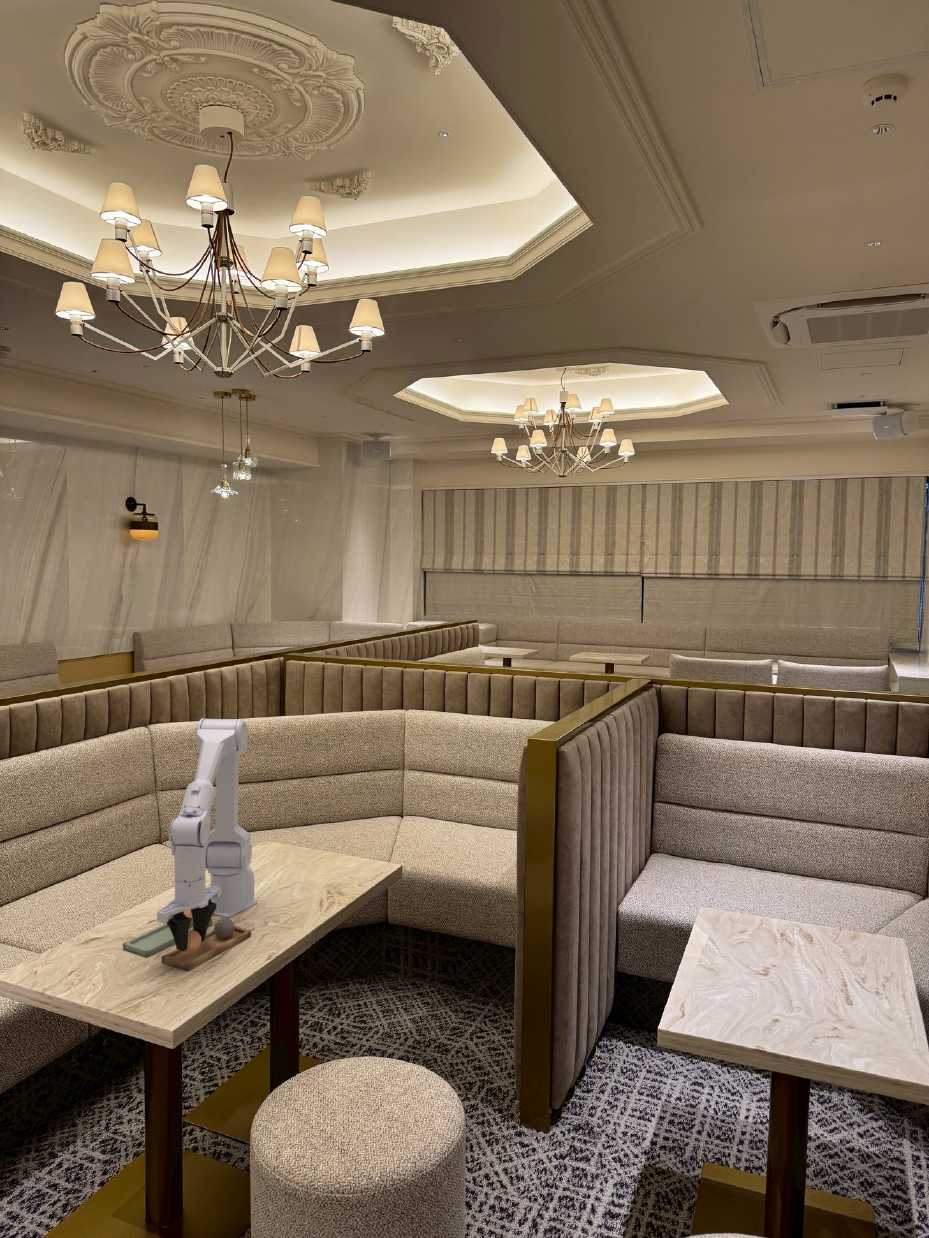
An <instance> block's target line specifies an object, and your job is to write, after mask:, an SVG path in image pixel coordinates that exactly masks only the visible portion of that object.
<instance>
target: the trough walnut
mask: <svg viewBox="0 0 929 1238" xmlns="http://www.w3.org/2000/svg"><path fill="white" fill-rule="evenodd" d="M251 936H252V930H250V929H247V928H243V927H239V926H236V925H234V932H233V934H232V935H231V936H230V937H228V938H225V939H221V938H219V937H217V936H216V934H215V932H214V929H212V930H210V931H208V932H206V936H205V940H204V941H203V942H201V945H200V947H199V948H198V949H197V950H196V951H194V952H185V951H181V950H178V949H177V948H176V949H173V950H171V951H170V952H168V953H166V954H163V955H162V956H161V963H163V964H165V965H168V966H171V967H174V968H177V969H180V970H182V971H186V972H189V971H190V970H192V969H194V968H197V967H198V966H199V965H202V964H203V963H205V962H207V961H209V960H210V959H213V958H215V957H216V956H218V955H220V954H222V953H223V952H225V951H227V950H229V949H231V948H232V947H234V946H236V945H238V944H240V943H241V942H243V941H245V940H247V939H249V938H250V937H251Z"/></svg>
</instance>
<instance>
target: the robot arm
mask: <svg viewBox="0 0 929 1238" xmlns="http://www.w3.org/2000/svg"><path fill="white" fill-rule="evenodd" d="M248 730H249V729H248V725H247V722H246V721H245V720H244V719H243V718H239V719H237V718H235V719H234V718H233V719H230V718H229V719H227V718H223V719H222V718H221V719H220V718H205V717H204V718H203V717H201V719H200V720H199V721H198V722H197V724H196V727H195V742H196V745H197V749H198V751H199V756H198V757H199V758H198V763H197V767H196V772H195V778H194V781H192V782H191V783H189V784H188V785H187V787H186V789H185V791H184V792H185V793H184V797H183V800H182V803H181V806H180V810H179V813H178V816H177V817H176V818H173V819H172V821H171V823H170V826H169V829H168V830H169V831H168V841H169V842H168V843H169V844H170V848H171V855H172V856H173V857H174V858H173V860H174V862H173V863H174V899H173V900H171V901H170V902H169V903H168V904H166V905H165V906H164V907H162V908H161V909H159V910H157V911H156V922H158V923H162V924H165V923H167V925H168V926H169V928H170V930H171V932H172V935H173V938H174V941H175V944H174V945H175V947H176V949H178V950H181V951H185V950H187V945H188V931H189V926H190V923H191V920H192V918H193V931H196V932H198V933H199V934H200V936H201V942H203V941H204V940H205V936H206V933H208V932H207V931H208V928H209V927H208V925H209V922H210V919H212V917H213V915H215V916H218V917H222V918H229V919H230V918H231V917H233V916H236V915H238V914H239V913H241V912H243V911H245V910H247V909H249V908H252V907H253V906H255V905H256V904H258V901H257V900H255V875H254V871H253V869H252V867H251V866H250V864H251V861H252V855H253V854H252V852H253V849H252V848H253V847H252V843H251V834H250V833H249V832H248V831H247V830H245V829H244V828H242V827H241V826H240V825H239V823H238V822H239V771H240V770H239V763H240V755H241V754H245V753H246V752H247V751H248V749H247V748H248ZM215 778H216V779H215ZM214 781H216V782H215V783H216V784H215V785H216V786H213V784H214ZM215 787H216V788H215ZM214 800H215V827H214V828H213V829H212V830H211V822H212V818H211V816H210V815H211V811H212V807H213V804H214ZM206 870H207V874H210V886H209V887H206ZM188 910H191V913H192V918H189V917H186V914H185V915H184V912H186V911H188Z"/></svg>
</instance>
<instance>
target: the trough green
mask: <svg viewBox="0 0 929 1238" xmlns="http://www.w3.org/2000/svg"><path fill="white" fill-rule="evenodd" d="M210 926H213V919H212V918H211V919H210V922H209V925H208V928H209V927H210ZM191 930H193V924H192V925H190V926H189V931H191ZM173 945H176V944H175V941H174V938H173V935H172V932H171V930H170V928H169V926H168V925H167V923H162V924H161V925H159V926H158V927H157V926H156V927H154V928H153V929H151V930H149V931H147V932H144V933H142V934H139V935H138V936H136V937H133V938H131V939H130V940H129V939H128V940H127V941H125V942H123V943H122V950H124V951H127V952H130V953H134V954H136V955H139V956H141V957H145V958H150V957H151V956H154V955H155V954H157V953H159V952H161V951H163V950H165V949H167V948H169V947H171V946H173Z"/></svg>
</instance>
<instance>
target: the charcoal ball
mask: <svg viewBox="0 0 929 1238" xmlns="http://www.w3.org/2000/svg"><path fill="white" fill-rule="evenodd" d="M234 926H235V924H234V922H233V920H232V919H231V918H230V917H229V918H225V917H222V918H220V919H218V920H217V921H216V922H215V924H214V926H213V927H214V928H213V930H214V932H215V934H216V936H217V937H219V938H221V939H225V938H228V937H230V936H231V935H232V934H233V932H234Z"/></svg>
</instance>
